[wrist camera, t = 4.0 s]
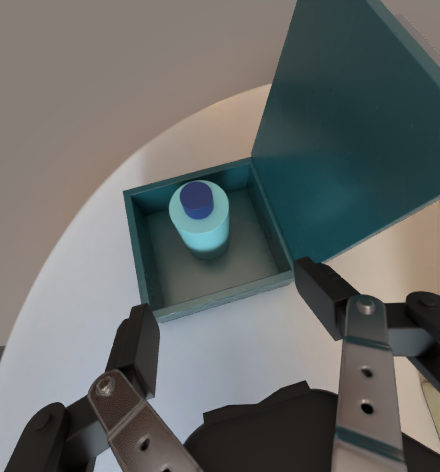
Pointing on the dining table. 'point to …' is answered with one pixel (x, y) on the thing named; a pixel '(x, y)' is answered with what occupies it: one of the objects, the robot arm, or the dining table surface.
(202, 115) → the dining table surface
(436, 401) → the toy refrigerator
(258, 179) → the teal open box
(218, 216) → the water bottle
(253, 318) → the dining table surface
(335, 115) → the teal box lid
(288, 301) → the dining table surface
